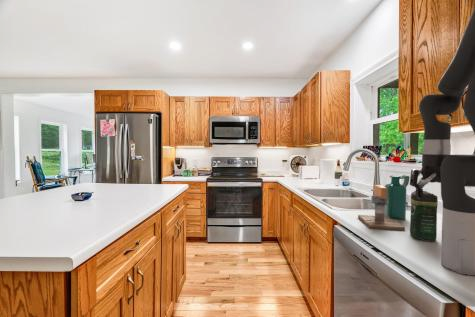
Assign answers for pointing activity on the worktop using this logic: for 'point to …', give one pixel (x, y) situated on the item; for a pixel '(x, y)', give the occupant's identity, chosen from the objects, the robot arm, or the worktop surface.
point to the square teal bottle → (396, 197)
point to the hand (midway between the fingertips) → (433, 199)
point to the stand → (380, 220)
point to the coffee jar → (424, 216)
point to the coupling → (380, 195)
